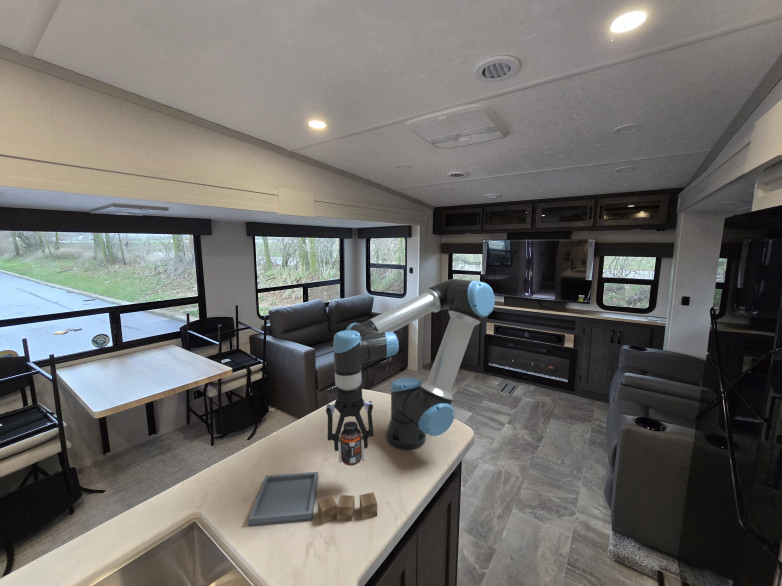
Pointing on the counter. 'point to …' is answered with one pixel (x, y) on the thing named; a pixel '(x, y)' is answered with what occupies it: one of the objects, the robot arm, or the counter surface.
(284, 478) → the tray
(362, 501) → the block
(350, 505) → the block
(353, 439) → the supplement bottle
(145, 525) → the counter surface
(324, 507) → the block
